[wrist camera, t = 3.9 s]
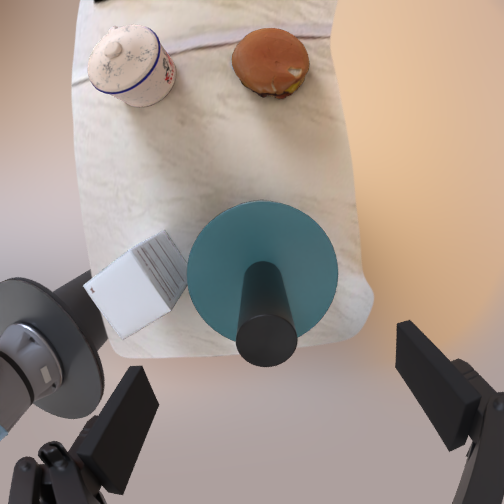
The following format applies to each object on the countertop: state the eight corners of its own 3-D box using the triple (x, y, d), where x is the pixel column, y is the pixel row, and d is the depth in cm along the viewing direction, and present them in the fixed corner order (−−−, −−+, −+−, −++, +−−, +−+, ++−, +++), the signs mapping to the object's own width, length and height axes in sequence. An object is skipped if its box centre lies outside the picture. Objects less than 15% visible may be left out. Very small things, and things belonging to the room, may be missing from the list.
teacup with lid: (189, 86, 35) (164, 53, 24) (131, 121, 36) (88, 103, 25) (155, 27, 33) (127, -13, 21) (102, 60, 34) (61, 32, 22)
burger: (248, 29, 33) (247, 13, 28) (314, 50, 34) (321, 36, 29) (223, 89, 35) (219, 77, 30) (292, 111, 36) (297, 102, 31)
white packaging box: (155, 299, 41) (120, 342, 29) (125, 256, 40) (79, 284, 28) (196, 274, 40) (172, 312, 28) (166, 227, 39) (128, 247, 27)
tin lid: (208, 349, 32) (185, 435, 19) (174, 217, 29) (115, 244, 16) (341, 326, 31) (383, 404, 18) (324, 188, 28) (375, 194, 15)
